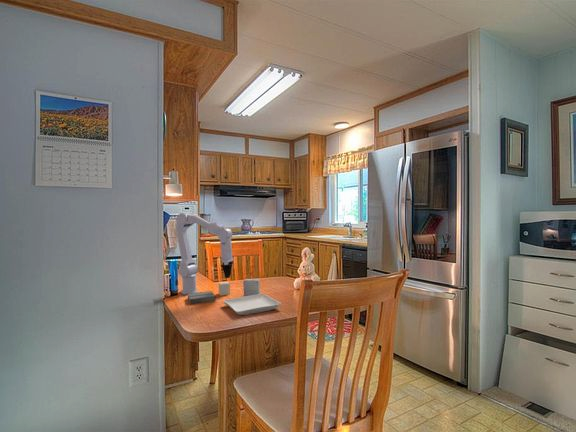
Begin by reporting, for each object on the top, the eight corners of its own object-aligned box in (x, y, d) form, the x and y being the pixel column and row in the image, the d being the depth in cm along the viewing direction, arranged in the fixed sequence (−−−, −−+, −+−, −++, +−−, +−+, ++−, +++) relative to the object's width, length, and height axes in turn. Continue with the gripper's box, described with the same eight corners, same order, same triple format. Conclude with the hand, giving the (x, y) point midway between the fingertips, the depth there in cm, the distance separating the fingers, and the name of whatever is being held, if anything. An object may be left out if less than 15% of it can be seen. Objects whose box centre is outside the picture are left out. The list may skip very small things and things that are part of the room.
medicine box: (260, 295, 169) (259, 278, 169) (258, 297, 165) (258, 280, 165) (245, 295, 170) (245, 278, 170) (243, 297, 166) (243, 280, 165)
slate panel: (188, 299, 166) (187, 293, 166) (211, 296, 170) (211, 291, 170) (190, 305, 155) (190, 299, 155) (215, 302, 159) (215, 296, 159)
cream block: (218, 293, 175) (218, 282, 175) (228, 292, 177) (227, 281, 177) (220, 295, 171) (220, 284, 171) (230, 294, 173) (229, 283, 172)
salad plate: (236, 319, 132) (236, 311, 132) (222, 306, 151) (222, 299, 151) (282, 310, 142) (282, 303, 142) (263, 300, 161) (263, 293, 161)
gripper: (233, 251, 164) (235, 278, 164) (234, 249, 179) (236, 273, 179) (219, 252, 164) (221, 279, 163) (221, 250, 178) (223, 274, 178)
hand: (228, 276), depth 171 cm, fingers open, 7 cm apart
